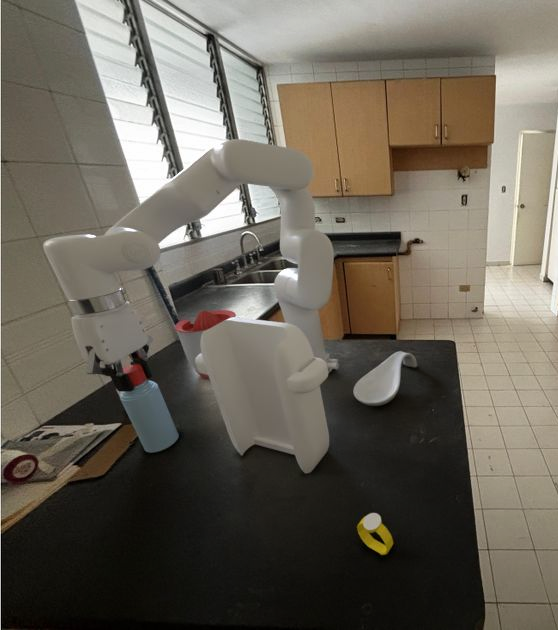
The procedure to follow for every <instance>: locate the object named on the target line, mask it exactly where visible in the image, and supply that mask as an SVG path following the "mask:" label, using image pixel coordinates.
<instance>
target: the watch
mask: <svg viewBox="0 0 558 630" xmlns="http://www.w3.org/2000/svg"><path fill="white" fill-rule="evenodd" d="M356 528H357V533H358V535H359V537H360V539H361V540H362V542H363V543H364V544H365V545H366V547H368V548H369V549H371V550H373V551H375V552H376V553H378V554H379V555H381V556H385V555H386V556H387V555H388V554H389V552H390V550H391V549H392V548H393V545H394V540H393V536H392V533H390V531H389V530H388V528H387V526H385V525H384V524H383V522H382V517H381V515H380V514H379V513H377V512H369V513H368V514H367V515H364V516H363V518H361V520H360V521H359V523H358V524H357V526H356ZM372 533H373V534H374V533H376V534H377V535H379V536H380V538H381V539H382V541H383V543H382V542H381V541H378V540H377V539H375V538H374V537H373V536H372V535H371V534H372Z"/></svg>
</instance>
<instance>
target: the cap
mask: <svg viewBox="0 0 558 630" xmlns="http://www.w3.org/2000/svg"><path fill="white" fill-rule="evenodd" d="M122 368H123V372H124V373H127V374H128V375H129V378H130V380H131V382H132V384H133V386H137V385H139V384H141V383H143V382H144V381H145V380H147V378H146V375H145V373H144V371H143V368H142V366H141V365H140V364H133V365H131V364H129V365H125V366H124V367H122Z"/></svg>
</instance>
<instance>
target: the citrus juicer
mask: <svg viewBox="0 0 558 630" xmlns="http://www.w3.org/2000/svg"><path fill="white" fill-rule="evenodd" d="M236 314H237V313H236V312H234V311H233V310H229V309H228V310H227V309H218V310H209V311H208V310H205V309H203V310H201V311H200V312H199V313H198V315H197V316H196V317H195V320H194V321H193V323H192V322H191V320H189V319H187V318H184V319H181V320H180V321H178V322H177V323H176V324H175V325H174V330H175V331H176V333H177V335H178V338H179V341H180V343H181V346H182V348H183V352H184V355H185V357H186V359H187V361H188V363H189V364H190V366H191V367H192V368H193V370H194V371H195V372H196V373H197V375H199V376H200V377H201V378H203V379H209V376H208V375H205V374H202V373H200V372H199V371H198V369H197V366H196V363H195V359H196V357H197V356H198V355H199V354H200V353H201V347H200V339H201V335H202V333H203V332H204V331H205V330H208V329H210V328H212V327H213V326H215V325H217V324H219V323H221V322H223V321H225V320H227V319H229V318H232V317H237V316H236ZM209 380H210V379H209Z"/></svg>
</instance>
